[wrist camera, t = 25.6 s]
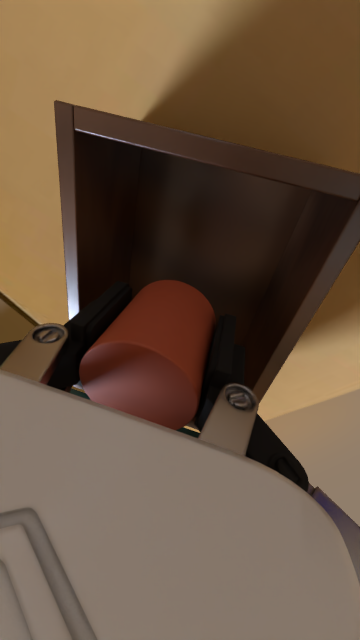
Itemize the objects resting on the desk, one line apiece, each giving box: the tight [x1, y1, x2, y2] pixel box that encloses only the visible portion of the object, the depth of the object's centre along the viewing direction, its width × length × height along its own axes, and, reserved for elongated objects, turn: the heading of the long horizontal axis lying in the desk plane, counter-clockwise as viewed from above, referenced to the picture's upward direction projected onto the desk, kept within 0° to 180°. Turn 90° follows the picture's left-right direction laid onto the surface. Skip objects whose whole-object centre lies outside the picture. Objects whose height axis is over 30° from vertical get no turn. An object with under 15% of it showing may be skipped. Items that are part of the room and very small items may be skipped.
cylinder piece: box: [79, 280, 216, 430], centre depth 11 cm, size 4×4×5 cm
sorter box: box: [54, 100, 360, 430], centre depth 17 cm, size 17×13×8 cm
